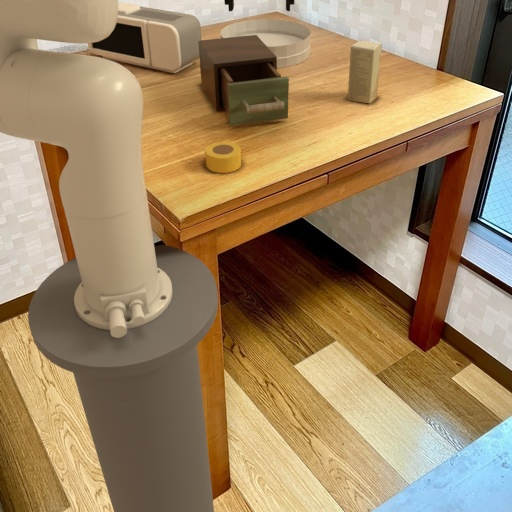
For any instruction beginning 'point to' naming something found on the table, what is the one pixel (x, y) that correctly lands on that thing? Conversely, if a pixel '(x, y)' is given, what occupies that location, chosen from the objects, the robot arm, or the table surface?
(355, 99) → the box
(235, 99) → the drawer
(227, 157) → the tape
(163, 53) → the alarm clock
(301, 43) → the dish
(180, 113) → the table surface
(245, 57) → the cabinet
